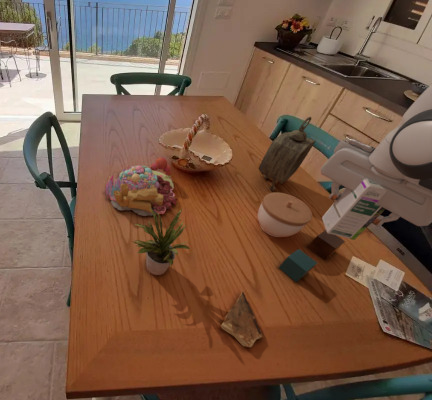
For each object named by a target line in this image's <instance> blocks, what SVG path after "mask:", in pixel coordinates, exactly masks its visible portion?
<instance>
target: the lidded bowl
mask: <svg viewBox="0 0 432 400" xmlns="http://www.w3.org/2000/svg"><path fill="white" fill-rule="evenodd" d="M312 218H313V213H312V211H311V208H310V207H309V206H308V205H307V204H306V203H305V202H304V201H302V200H301V199H299V198H298V197H296V196H293V195H291V194H289V193H284V192H278V191H277V192H276V191H274V192H269V193H267V194H266V195H264V197H263V199H262V201H261V203H260V205H259V207H258V210H257V221H258V223H259V226H260V228H261V229H262V230H263V232H264V233H265V234H267V235H269V236H271V237H274V238H287V237H291V236H294V235H296V234H298V233H299V232H301V231H302V230H303V229H304V228H305V227H306V226H307V224H309V223H310V222H311V221H312Z"/></svg>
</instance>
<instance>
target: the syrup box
mask: <svg viewBox="0 0 432 400" xmlns="http://www.w3.org/2000/svg"><path fill="white" fill-rule="evenodd" d="M386 191H387V190H386V189H385V188H383V187H381V186H380V185H378V184H376V183H374V182H372V181H370V180H368V179H365V180H363V181H362V182H361V183H360V185H359V186H358V187H357V188H356V189H355V190H354V191H352V190H350V189H348V188H346V187H345V189H344V190H343V191H342V192H341V193H342V194H341V195H340V196H339V197H338V199H337V200H335V201H333V203H332V205H331V206H330V207H329V208H328V210H326V212H325V213H324V214H323V215H322V217H321V219H322V223H323V225H324V229H325V230H326V231H327V233H328V234H333V235H336V236H338V237H340V238H344V239H349V240H352V241H354V240H356V239H357V238H358V237H359V236H360V235H361V234H362V233H363V232H364V231H365V230H366V229H368V227H369V226H370V225H371V224H372V223H371V222H373V221H374V220H375V219H376V218H377V217H378V216H379V215H381V214H382V213H384V211H386V209H385V208H383V207H381V206H379V205H378V204H377V203H378V201H379V200H380V199H381V197H382V196H383V195H384V194H385V193H386Z"/></svg>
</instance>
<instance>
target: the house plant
mask: <svg viewBox="0 0 432 400" xmlns="http://www.w3.org/2000/svg"><path fill="white" fill-rule="evenodd" d="M149 208H150V207H149ZM150 210H151V212H152V214H153V215H152V216H153V220H154V226H155V228H156V230H154V226H153V225H152V223H151V221H149V220H147V221H148V225H149V226H148V225H146V224H140V223H133V225H134V226H137V227H139V228H141V229H143V231H144V233H146V234H149V235H150V236H151V237H152V239H150V240H146V241H143V240H139V239H136V240H135V239H134V241H131V242H132V243H134V244H136V247H138V248H140V249H139V250H138V251H137V254H145V258H146V259H145V262H146V263H145V264H146V269H147V271H148V272H149V273H150V274H152V275H154V276H162V275H164V274H165V273H166V272H167V270H168V269H169V267H172V266H173V264H174V260H175V258H176V255H177V256H178V255H179V252H178V249H182V250H189V251H191V248H190V247H189V246H188V245H186V244H187V243H189V241H185V242H181V243H175V244H173V243H174V242H175V241H176V240H177V239H178V238H179V237H180V236H181V234H182V233H183V232H184V230H185V229H186V227H187V225H188V224H187V223H186V224H185V225H184V226H183V224H184V220H183V221H182V222H181V223H180V224H179V225H178V227H177V228H176V229H175V228H174V227H175V226H176V225H177V224H178V223H179V222H180V221H181V219H179V218H180V216H181V213H182V211H183V208H180V209H179V210H178V211H177V213H176V214H175V215H174V217H173V218H172V219H171V222H170V224H169V227H167V228H166V230H165V233H164V231H163V221H162V216H161V214H158V213H157V214H155V213H154V211H153V210H152V209H151V208H150ZM182 226H183V227H182ZM156 232H157V233H156ZM172 244H173V245H172Z"/></svg>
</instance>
